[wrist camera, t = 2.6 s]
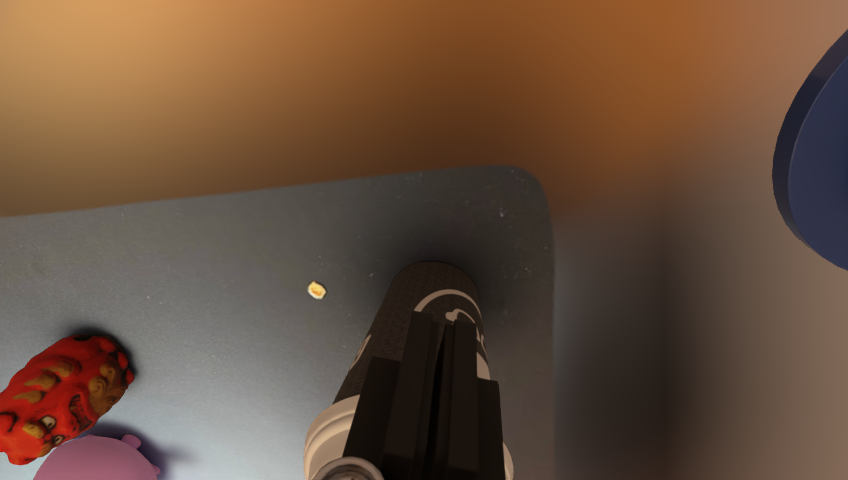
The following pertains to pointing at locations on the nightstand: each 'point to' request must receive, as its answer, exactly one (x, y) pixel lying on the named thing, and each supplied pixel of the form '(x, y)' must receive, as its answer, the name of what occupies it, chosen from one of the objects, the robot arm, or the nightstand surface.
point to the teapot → (98, 460)
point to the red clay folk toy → (61, 395)
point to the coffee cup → (398, 349)
